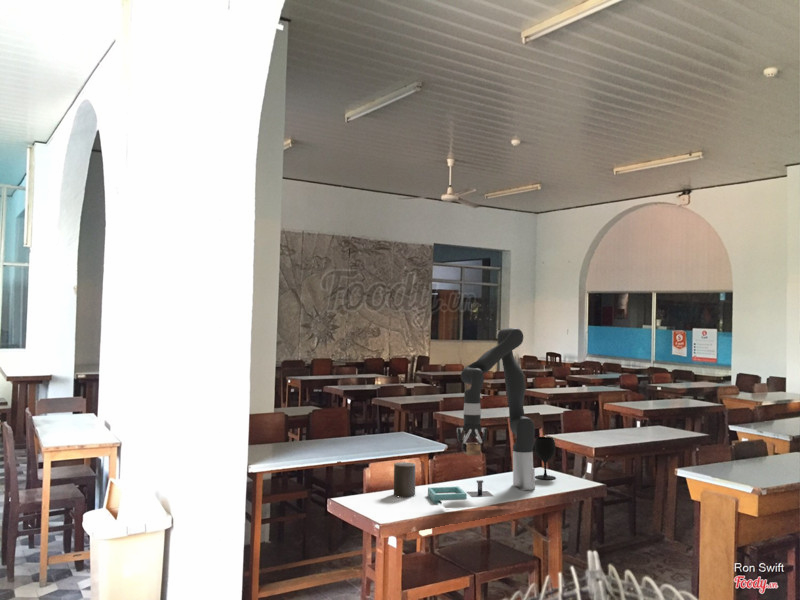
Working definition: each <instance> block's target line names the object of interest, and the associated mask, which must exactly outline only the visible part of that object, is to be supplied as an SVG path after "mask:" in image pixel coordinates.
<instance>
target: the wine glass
mask: <svg viewBox="0 0 800 600" xmlns="http://www.w3.org/2000/svg"><path fill="white" fill-rule="evenodd" d="M556 447H557V446H556V442H555V439H554V437H553V436H537V437H536V436H535V439H534V446H533V449H534V452H535V454H536V456H537V457H538V458H539V459H540V461H542V462H543V467H544V468H543V470H544V472H543V474H540V475H539V474H538V475H535V480H541V481H554V480H556V478H557V477H556V476H553V475H548V473H547V463H548V462H549V461H550V460H551V459H552V458H553V457H554V455H555V454H556V450H557V449H556Z"/></svg>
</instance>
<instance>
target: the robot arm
mask: <svg viewBox="0 0 800 600" xmlns="http://www.w3.org/2000/svg"><path fill="white" fill-rule="evenodd" d="M523 342H524V334H523V331H522V330H521V329H520V328H517V327H510V328H508V327H507V328H501V329H500V330H498V333H497V343H498V344H497V345H495V346H493V347H492V348H490V349H488V350H487V351H486V352H484V353H483V354H482V355H481V356H480V357H479V358H478V359H477V360H476V361H473V362H472V363H471V364H469V365H467V366H466V367H464V368H463V370H462V371H461V374H460V380H461V381H462V382H463V383H465V384H468V385H470V388H468V389H466V390H464V396H463V397H464V399H463V400H464V403H463V425H462V427H456V436H457V441H458V442H459V443H461V450H462V452H463V453H464V452H466V443H467V441H468V439H469V438H471V437H475V438H476V440H477V443H478V444H480V445H481V451H482V450H483V443H485V442H486V441H487V437H488V428H487V427H482V426H481V425H482V424H481V417H482V416H481V415H482V410H481V409H482V407H481V393H482V388H483V385H484V382H485V374H486V373H488V372H489V371H491V369H492V368H493V367H494V366H495V365H496V364H497V363H498V362H499V361H502V368H503V374H504V382H505V384H504V385H505V389H506V396H507V402H508V411H509V412H508V413H509V415H508V416H509V428H510V431H511V433H513V434H514V435H516V440H515V441H516V442H515V443H514V444H513V445H512V485H513V487H514V488H516V489H518V490H519V491H531V490H535V489H536V481H535V480H536V478H535V476H536V475H535V468H534V446H535V439H536V436H535V433H536V431H535V430H536V428H535V424H534V421H533V420H532V419H531V418H530V417H527V416H526V415H525V411H524V410H525V409H524V399H525V397H526V396H525V395H526V390H527V388H526V381H525V380H526V379H525V373H524V372H523V369H522V368H521V366H520V365H519V364H518V362H517V360H516V358H515V356H514V352H513V351H514V350H516V349H517V348H519V347H520V346H521V345H522V344H523ZM463 432H464V434H463V437H462V433H463ZM481 432H482V438H481V435H480V433H481Z"/></svg>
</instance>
